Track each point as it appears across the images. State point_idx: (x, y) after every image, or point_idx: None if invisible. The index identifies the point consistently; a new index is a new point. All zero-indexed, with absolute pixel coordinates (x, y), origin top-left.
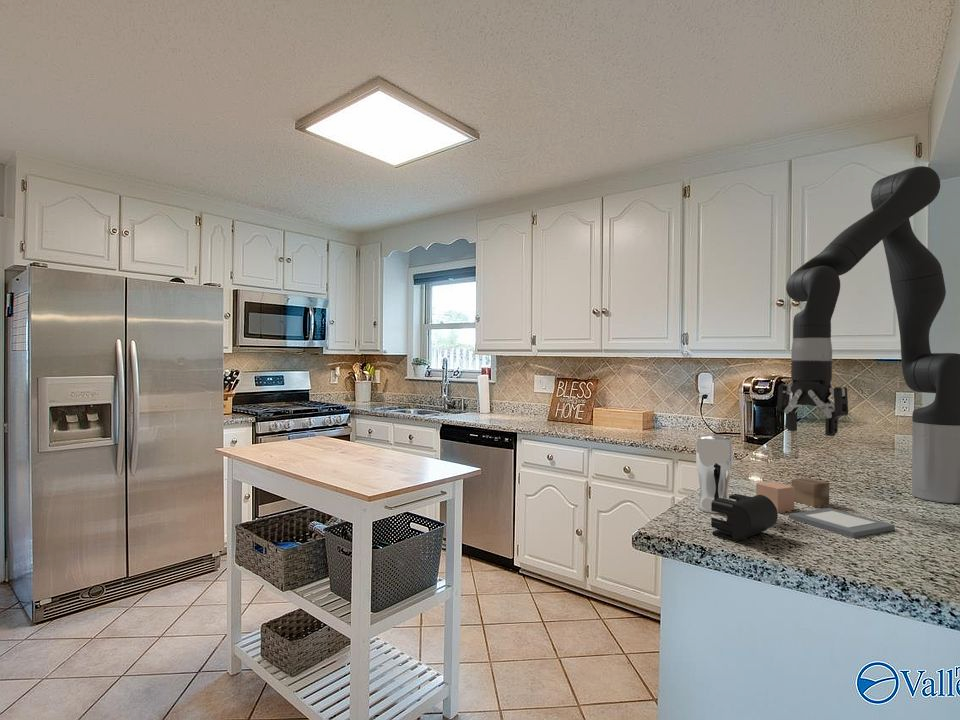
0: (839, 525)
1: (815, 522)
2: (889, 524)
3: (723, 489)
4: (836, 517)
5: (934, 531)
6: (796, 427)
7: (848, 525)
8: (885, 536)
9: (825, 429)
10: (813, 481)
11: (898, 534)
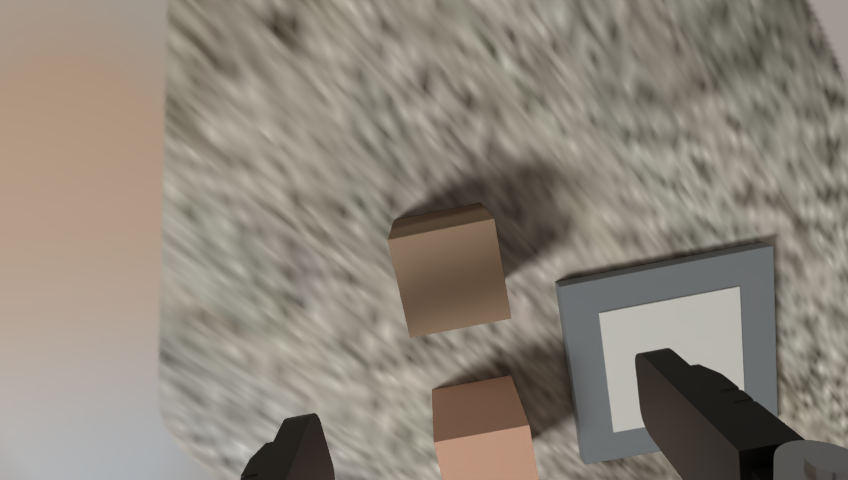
0: None
1: None
2: (764, 259)
3: None
4: None
5: (816, 124)
6: (307, 427)
7: None
8: (790, 325)
9: (671, 463)
10: (460, 271)
11: (792, 271)
